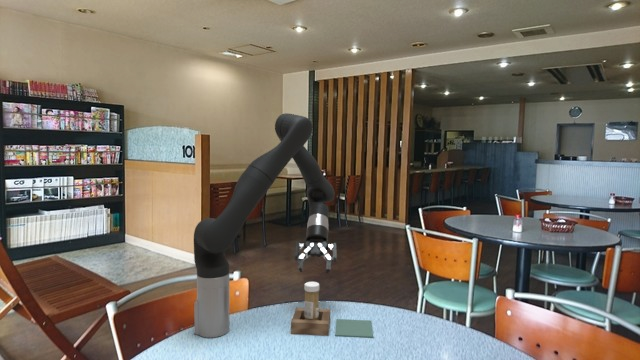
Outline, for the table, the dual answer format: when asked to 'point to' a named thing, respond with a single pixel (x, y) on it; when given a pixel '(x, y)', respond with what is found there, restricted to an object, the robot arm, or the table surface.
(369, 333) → the rubber mat
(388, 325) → the table surface
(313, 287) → the sprinkles bottle
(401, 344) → the table surface
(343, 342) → the table surface
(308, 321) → the keeper collar
